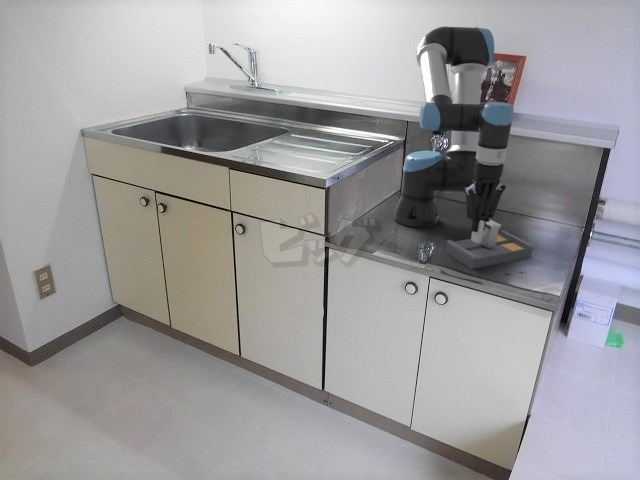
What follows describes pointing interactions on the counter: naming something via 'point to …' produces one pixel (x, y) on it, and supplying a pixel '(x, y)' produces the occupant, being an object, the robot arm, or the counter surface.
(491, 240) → the fader knob
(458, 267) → the counter surface
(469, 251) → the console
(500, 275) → the counter surface
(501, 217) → the counter surface
